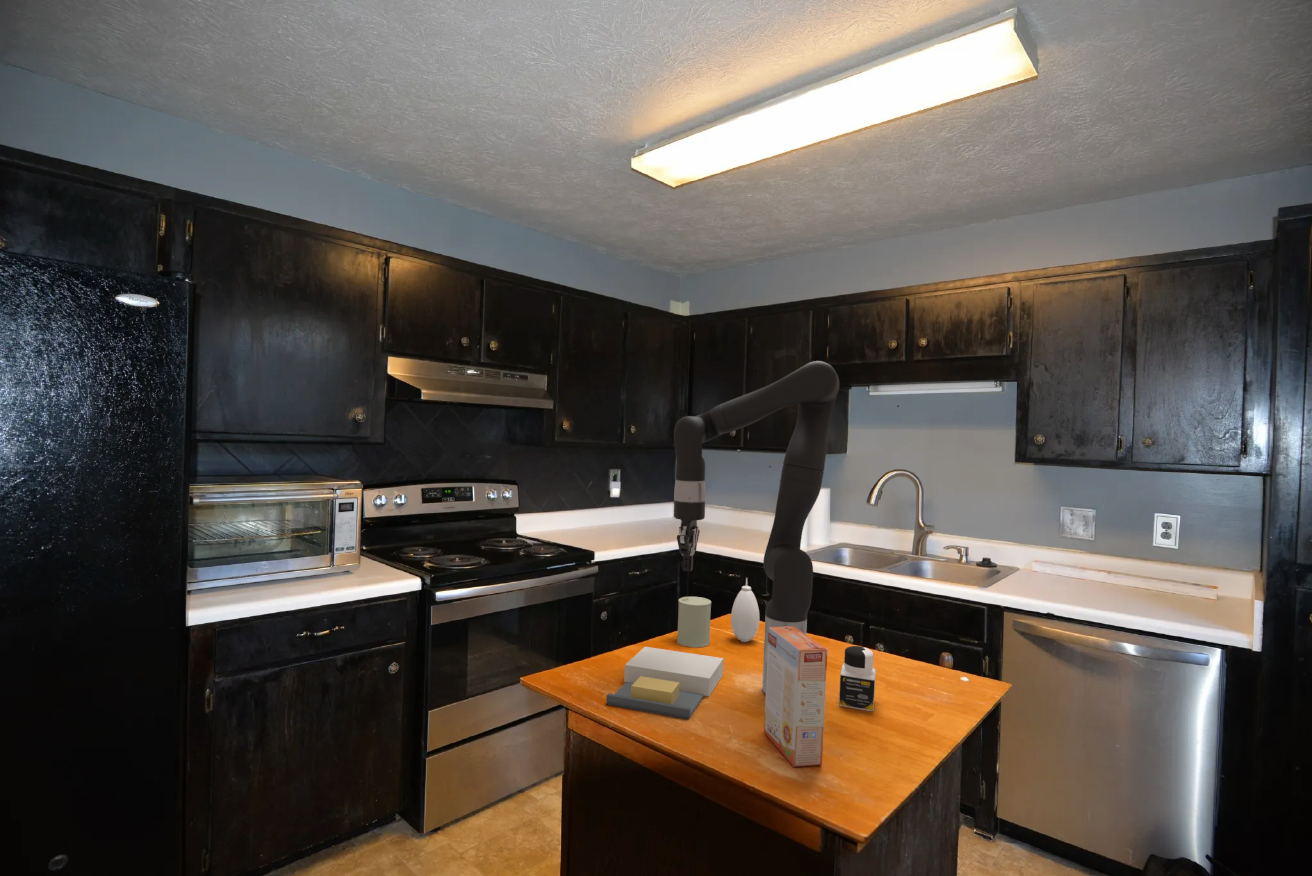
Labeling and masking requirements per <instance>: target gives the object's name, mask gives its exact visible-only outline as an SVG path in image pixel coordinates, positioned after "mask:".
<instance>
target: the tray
mask: <svg viewBox="0 0 1312 876" xmlns="http://www.w3.org/2000/svg"><path fill="white" fill-rule="evenodd" d="M633 684H634V683H631V682H624V684H622V686H621V687H620V688H619V689H618V690H616V692H614V693H607V694H606V704H608V705H607V706H613V707H617V706H620V707H619V708H624V709H628V708H629V710H634V711H635V710H636V711H640V712H646V713H649V714H657V715H661V716H666V715H667V716H668V717H673V718H680V719H682V720H687V721H688V720H690V718H691V717H693V714H694V712H695V711H696V710H697V708H698V706H699V705H700V704H701V702H702V700H703V699H704V697H705V696H704V695H702V694H696V693H691V692H685V691H679V697H678V698H677V700H676V701H675V703H674V704H673V705H672V704H666V703H661V702H655V701H649V700H644V699H638V698H632V697H631V686H632V685H633Z"/></svg>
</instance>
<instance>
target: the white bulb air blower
mask: <svg viewBox="0 0 1312 876" xmlns="http://www.w3.org/2000/svg"><path fill="white" fill-rule="evenodd" d="M730 625H731V629H732V633H733V635H734V636H735V637H736V638H737V639H738V640H740V642H741V643H748V642H750V641H751V640H752V639H754V637H755V636H756V634H757V632H758V630H759V626H760V609H759V605H758V600H757V598H756V595H755V594H754V592H753V591H752V587H751V586H749V585H748V577H746V578H745V585H743V586H741V590H740V591H739V592H738V593H737V595H736V597H735V599H734V601H733V605H732V608H731V616H730Z"/></svg>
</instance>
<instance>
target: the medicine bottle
mask: <svg viewBox="0 0 1312 876" xmlns="http://www.w3.org/2000/svg"><path fill="white" fill-rule="evenodd" d="M876 671H877V670H876V668H874V652H873V651H872V650H871V649H869V648H867V647H864V646H859V645H852V646H847V647H846V648H845V649H844V663H843V664H842V667H841V669H840V676H839V693H838V694H839V699H838V705H839V706H840V707H843V706H844V707H845V708H850V709H855V710H861V711H867V712H874V710H875V693H876V673H877V672H876Z"/></svg>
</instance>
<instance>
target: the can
mask: <svg viewBox="0 0 1312 876" xmlns="http://www.w3.org/2000/svg"><path fill="white" fill-rule="evenodd" d="M711 608H712V601H711V600H710V599H708V598H705V597H699V596H683V597H680V598H678V611H677V612H678V614H677V615H678V618H677V635H676V642H677V644H678V645H681V646H683V647H689V648H703V647H707V646H709V645H710V643H711V641H710V635H711V634H710V633H711V631H710V630H711V629H710V628H711Z"/></svg>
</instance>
